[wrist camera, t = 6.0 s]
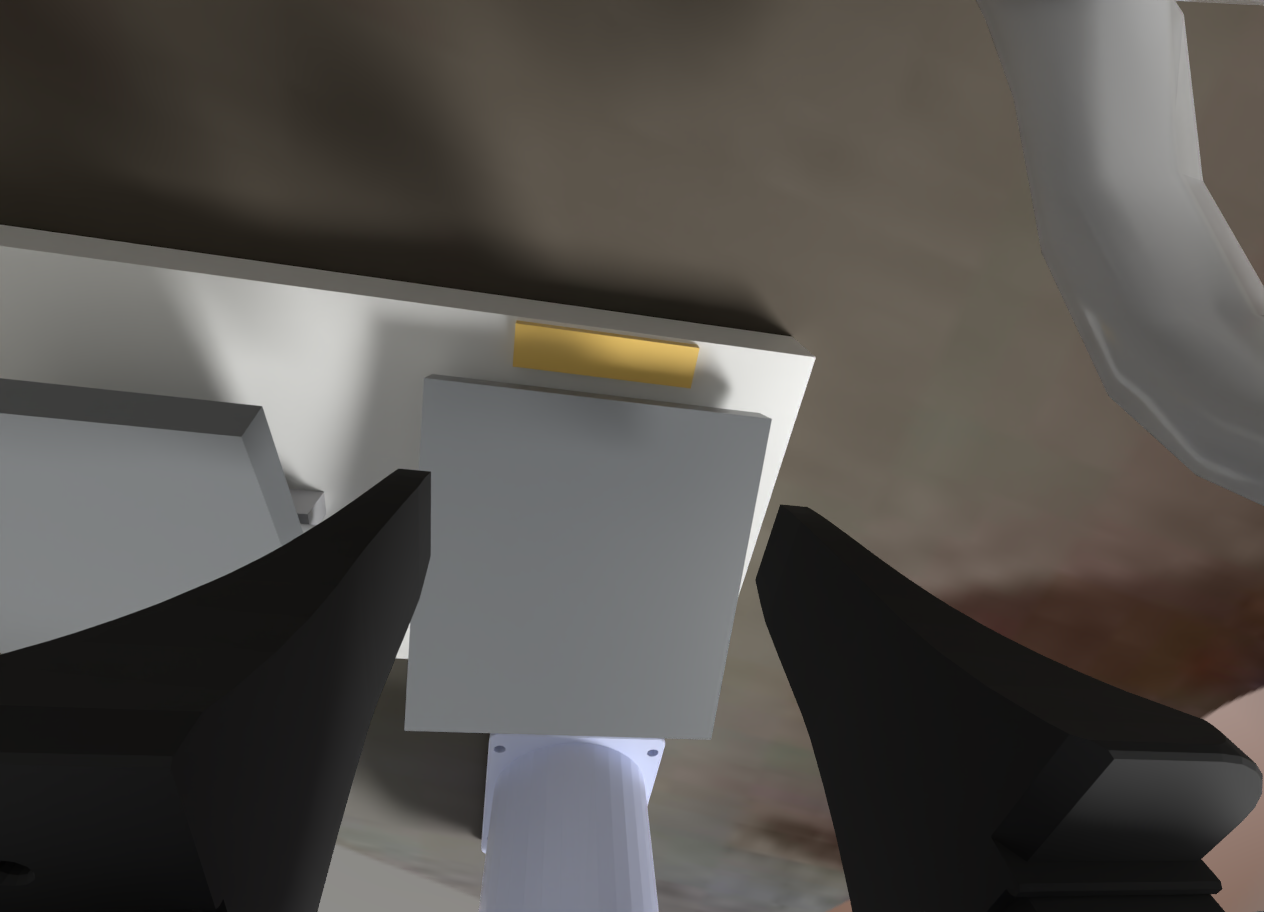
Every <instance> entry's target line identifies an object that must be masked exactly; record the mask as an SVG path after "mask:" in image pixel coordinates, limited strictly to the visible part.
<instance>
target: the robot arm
mask: <svg viewBox="0 0 1264 912" xmlns="http://www.w3.org/2000/svg"><path fill="white" fill-rule="evenodd" d="M430 557H431V471H420V470H409V469H399V468H398V469H397V470H395V471H394V472H393V473H391V474H390V475H388V476H387V477H386V478H384V479H383V480H381V481H380V482H379V483H377V484H376V485H374V486H373V487H372V488H370V489H369V490H368V491H366V492H365V493H363V494H362V495H361V496H359V497H358V498H356V499H355V500H354V501H352V502H351V503H349V504H348V505H346V506H345V507H344V508H342V509H341V510H339V511H338V512H336V513H335V514H333V515H332V516H330V517H329V518H327V519H326V520H324V521H322V522H321V523H319V524H318V525H316V526H314V527H313V528H311V529H309V530H308V531H306V532H305V533H303V534H301V535H300V536H298V537H296V538H295V539H293V540H292V541H290V542H288V543H287V544H285V545H283V546H281V547H280V548H278V549H276V550H274V551H272V552H270V553H269V554H267V555H265V556H263V557H261V558H259V559H257V560H255V561H253V562H251V563H249V564H247V565H245V566H243V567H241V568H239V569H237V570H235V571H233V572H231V573H229V574H227V575H225V576H222V577H220V578H218V579H216V580H213V581H211V582H209V583H206V584H204V585H201V586H199V587H197V588H194V589H192V590H190V591H187V592H185V593H182V594H180V595H178V596H175V597H173V598H171V599H168V600H166V601H163V602H161V603H158V604H156V605H153V606H151V607H148V608H145V609H142V610H140V611H137V612H134V613H131V614H129V615H126V616H123V617H120V618H118V619H115V620H112V621H109V622H106V623H103V624H100V625H97V626H94V627H91V628H88V629H85V630H82V631H79V632H76V633H73V634H69V635H66V636H63V637H60V638H57V639H53V640H50V641H47V642H43V643H39V644H36V645H32V646H29V647H25V648H22V649H18V650H15V651H11V652H8V653H4V654H0V912H317V911H318V907H319V903H320V899H321V896H322V892H323V888H324V884H325V881H326V877H327V873H328V869H329V865H330V862H331V858H332V854H333V850H334V847H335V843H336V839H337V835H338V832H339V828H340V825H341V821H342V818H343V814H344V811H345V807H346V803H347V800H348V796H349V793H350V789H351V786H352V782H353V779H354V775H355V772H356V768H357V765H358V762H359V758H360V755H361V751H362V748H363V745H364V741H365V738H366V735H367V731H368V728H369V724H370V721H371V719H372V716H373V713H374V710H375V708H376V705H377V702H378V699H379V697H380V694H381V692H382V690H383V687H384V685H385V682H386V680H387V677H388V675H389V673H390V670H391V668H392V665H393V663H394V661H395V658H396V656H397V653H398V651H399V648H400V646H401V644H402V641H403V639H404V636H405V634H406V631H407V629H408V626H409V624H410V622H411V619H412V617H413V614H414V612H415V609H416V607H417V604H418V602H419V599H420V595H421V591H422V588H423V584H424V580H425V576H426V573H427V569H428V565H429V561H430ZM756 584H757V589H758V593H759V598H760V603H761V607H762V611H763V614H764V618H765V622H766V625H767V627H768V630H769V633H770V635H771V638H772V640H773V643H774V646H775V648H776V651H777V653H778V656H779V658H780V661H781V663H782V666H783V668H784V671H785V673H786V676H787V678H788V681H789V683H790V686H791V688H792V691H793V693H794V696H795V698H796V701H797V703H798V706H799V708H800V711H801V713H802V716H803V719H804V722H805V725H806V727H807V730H808V733H809V736H810V739H811V743H812V746H813V750H814V754H815V757H816V761H817V764H818V768H819V771H820V775H821V778H822V782H823V786H824V790H825V794H826V798H827V802H828V806H829V809H830V813H831V817H832V821H833V825H834V829H835V833H836V837H837V842H838V846H839V851H840V856H841V860H842V865H843V869H844V874H845V878H846V883H847V887H848V892H849V897H850V901H851V906H852V912H1225V911H1224V910H1223V909H1222V908H1221V907H1220V905H1219V904H1218V903H1217V902H1216V901H1215V899H1214V898H1213V897H1212V896H1211V895H1210V894H1217V893H1218V892H1219V891H1220V890H1222V886H1221V881H1220V880H1219V879H1218V878H1217V877H1216V875H1215V874H1214V873H1213V872H1212V871H1211V870H1210V869H1209V867H1208V866H1207V865H1206V864H1205V863H1204V862H1203V861H1202V860H1201V858H1203V857H1204V856H1205V855H1206V854H1207V853H1208V852H1209V851H1210V850H1212V849H1213V848H1214V847H1215V846H1216V845H1217V844H1218V843H1219V842H1220V841H1221V840H1222V839H1223V838H1225V837H1226V836H1227V835H1228V834H1229V833H1230V832H1231V831H1232V830H1233V829H1234V828H1236V827H1237V826H1238V825H1239V824H1240V823H1241V822H1242V821H1243V820H1244V819H1245V818H1246V817H1247V816H1248V814H1249V813H1250V812H1251V811H1252V810H1253V809H1254V808H1255V806H1256V804H1257V802H1258V800H1259V798H1260V796H1261V794H1262V773H1261V771H1260V770H1259V768H1258V766H1257V765H1256V763H1254V762H1253V761H1252V760H1251V759H1250V758H1249V757H1248V756H1247V755H1246V754H1244V753H1243V752H1242V751H1241V750H1240V749H1239V748H1238V747H1237V746H1236V745H1235V744H1234V743H1232V742H1231V741H1230V740H1229V739H1228V738H1227V737H1226V736H1225V735H1224V734H1223V733H1221V732H1220V731H1219V730H1218V729H1216V728H1215V727H1214V726H1213V725H1211V724H1210V723H1208V722H1207V721H1205V720H1203V719H1200V718H1198V717H1195V716H1192V715H1189V714H1187V713H1184V712H1181V711H1178V710H1176V709H1173V708H1170V707H1167V706H1165V705H1162V704H1159V703H1156V702H1154V701H1151V700H1148V699H1145V698H1143V697H1140V696H1137V695H1135V694H1132V693H1129V692H1126V691H1124V690H1121V689H1119V688H1116V687H1114V686H1111V685H1109V684H1107V683H1104V682H1102V681H1099V680H1097V679H1095V678H1092V677H1090V676H1088V675H1085V674H1083V673H1080V672H1078V671H1076V670H1073V669H1071V668H1069V667H1067V666H1064V665H1062V664H1060V663H1058V662H1056V661H1053V660H1051V659H1049V658H1047V657H1045V656H1043V655H1041V654H1039V653H1036V652H1034V651H1032V650H1030V649H1028V648H1026V647H1024V646H1022V645H1020V644H1018V643H1016V642H1014V641H1012V640H1010V639H1008V638H1006V637H1004V636H1002V635H1001V634H999V633H997V632H995V631H993V630H991V629H989V628H987V627H986V626H984V625H982V624H980V623H978V622H977V621H975V620H973V619H972V618H970V617H968V616H966V615H965V614H963V613H961V612H960V611H958V610H956V609H954V608H953V607H951V606H949V605H948V604H946V603H944V602H943V601H941V600H940V599H938V598H936V597H935V596H933V595H932V594H930V593H929V592H927V591H926V590H924V589H923V588H921V587H920V586H918V585H917V584H915V583H914V582H912V581H911V580H909V579H908V578H906V577H905V576H903V575H902V574H900V573H899V572H898V571H896V570H895V569H893V568H892V567H891V566H889V565H888V564H886V563H885V562H884V561H882V560H881V559H879V558H878V557H877V556H875V555H874V554H873V553H871V552H870V551H869V550H867V549H866V548H865V547H863V546H862V545H861V544H859V543H858V542H857V541H855V540H854V539H853V538H851V537H850V536H849V535H847V534H846V533H845V532H843V531H842V530H840V529H839V528H838V527H836V526H835V525H834V524H832V523H831V522H829V521H828V520H827V519H825V518H824V517H822V516H821V515H819V514H818V513H816V512H815V511H813V510H811V509H810V508H808V507H800V506H790V505H780V507H779V510H778V513H777V516H776V519H775V522H774V525H773V528H772V531H771V534H770V537H769V540H768V543H767V546H766V549H765V552H764V555H763V559H762V562H761V565H760V568H759V571H758V574H757V577H756ZM664 747H665V740H664V738H641V737H606V736H571V735H536V734H501V733H490V737H489V747H488V761H487V774H486V788H485V801H484V815H483V828H482V842H481V850H482V851H483V852H484V853H486V857H485V865H484V873H483V881H482V889H481V897H480V905H479V912H659V910H658V900H657V891H656V882H655V873H654V863H653V854H652V845H651V836H650V826H649V817H648V808H647V805H648V802H649V798H650V795H651V791H652V788H653V785H654V781H655V778H656V774H657V771H658V768H659V764H660V761H661V757H662V754H663V750H664ZM1257 912H1264V911H1257Z"/></svg>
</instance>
